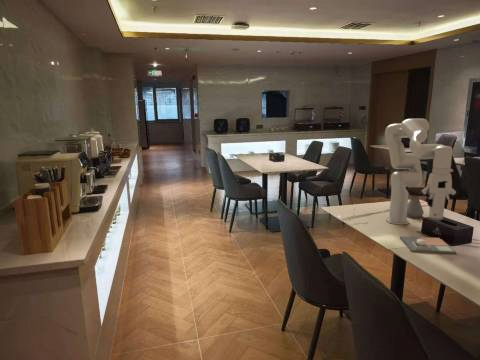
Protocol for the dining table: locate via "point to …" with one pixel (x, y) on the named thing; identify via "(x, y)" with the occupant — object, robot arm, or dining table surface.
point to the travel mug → (438, 202)
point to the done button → (421, 242)
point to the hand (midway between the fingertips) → (437, 206)
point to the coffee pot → (414, 207)
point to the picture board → (427, 245)
